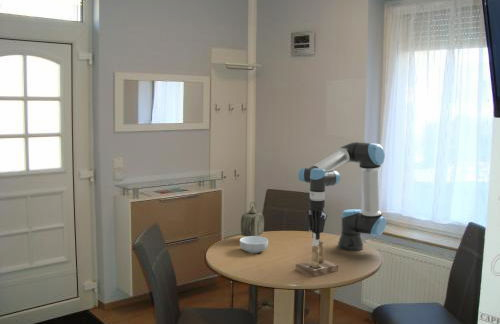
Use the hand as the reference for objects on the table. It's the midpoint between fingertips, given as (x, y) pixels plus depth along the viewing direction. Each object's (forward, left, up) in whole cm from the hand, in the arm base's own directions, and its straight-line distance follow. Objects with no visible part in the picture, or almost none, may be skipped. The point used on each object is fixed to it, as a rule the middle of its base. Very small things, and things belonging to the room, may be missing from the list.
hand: (315, 245), depth 254 cm
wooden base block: (-4, -3, -15) cm, 16 cm away
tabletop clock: (-8, -66, -15) cm, 68 cm away
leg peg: (0, 0, -15) cm, 15 cm away
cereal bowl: (+4, -48, -15) cm, 50 cm away
